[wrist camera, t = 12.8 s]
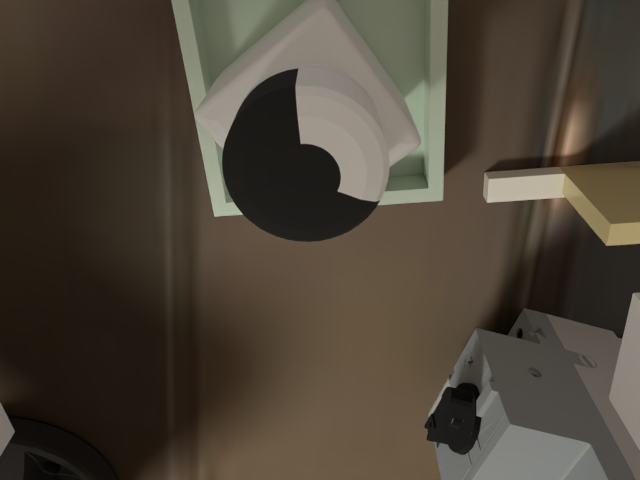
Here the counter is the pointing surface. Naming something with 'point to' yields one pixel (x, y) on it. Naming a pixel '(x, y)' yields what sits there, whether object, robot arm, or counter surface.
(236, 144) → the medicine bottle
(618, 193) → the fuse holder
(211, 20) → the tray
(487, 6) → the counter surface
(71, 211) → the counter surface
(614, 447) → the circuit breaker
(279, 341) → the counter surface
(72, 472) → the robot arm
